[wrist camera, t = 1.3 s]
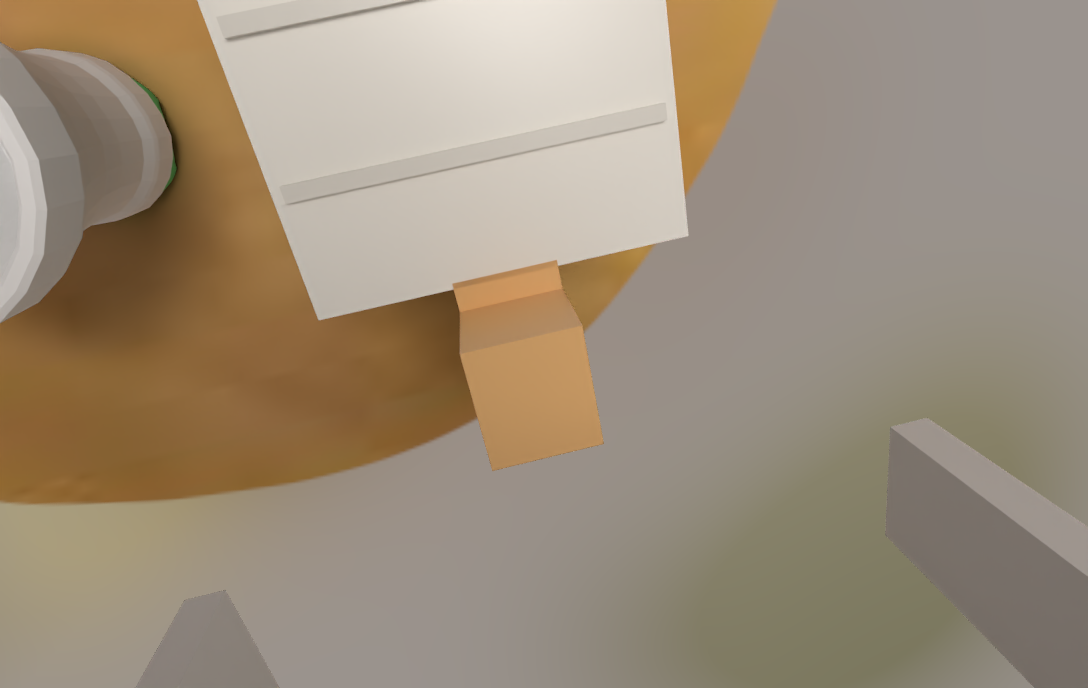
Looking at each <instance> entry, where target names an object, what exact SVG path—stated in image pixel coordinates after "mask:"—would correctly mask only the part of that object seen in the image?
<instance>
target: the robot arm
mask: <svg viewBox="0 0 1088 688" xmlns="http://www.w3.org/2000/svg"><path fill="white" fill-rule="evenodd" d="M885 532H886V533H885V535H886V536H887V537H888V538H889V539H890V540H891V541H892V542H893V543H894V544H895V545H896V547H897V548H899V550H900V551H901V552H902V553H903V554H904V555H905V556H906V557H907V558H908V559H909V560H910V561H911V562H912V563H913V564H914V565H915V566H916V567H917V568H918V569H919V570H920V571H921V572H922V573H923V574H924V575H925V576H926V577H927V578H928V579H929V580H930V581H931V582H932V583H933V584H934V585H935V586H936V587H937V588H938V589H939V590H940V592H941V593H942V594H943V595H944V596H945V597H946V598H947V599H948V600H949V601H950V602H951V603H952V604H953V605H954V606H955V607H956V608H957V609H958V610H959V611H960V612H961V613H962V614H963V615H964V616H965V617H966V618H967V619H968V620H969V621H970V622H971V623H972V624H973V625H974V626H975V627H976V628H977V629H978V630H979V631H980V632H981V633H982V635H983V636H984V637H985V638H986V639H987V640H988V641H989V642H990V643H991V644H992V645H993V646H994V647H995V648H997V650H998V651H999V652H1000V653H1001V654H1002V655H1003V656H1004V657H1005V658H1006V659H1007V660H1008V661H1009V662H1010V663H1011V664H1012V665H1013V666H1014V667H1015V668H1016V669H1017V670H1018V671H1019V672H1020V673H1021V674H1022V675H1023V676H1024V677H1025V678H1026V680H1027V681H1028V682H1029V683H1030V684H1031V685H1032V686H1033V687H1034V688H1088V527H1087V526H1086V525H1084V524H1083V523H1081V522H1080V521H1078V520H1077V519H1075V518H1074V517H1073V516H1071V515H1070V514H1068V513H1067V512H1065V511H1063V510H1062V509H1061V508H1059V507H1058V506H1056V505H1055V504H1053V503H1052V502H1050V501H1049V500H1047V499H1046V498H1044V497H1043V496H1042V495H1040V494H1039V493H1037V492H1036V491H1034V490H1033V489H1031V488H1029V487H1028V486H1027V485H1025V484H1024V483H1022V482H1021V481H1019V480H1018V479H1016V478H1015V477H1014V476H1012V475H1011V474H1009V473H1008V472H1006V471H1005V470H1003V469H1002V468H1000V467H999V466H997V465H996V464H994V463H993V462H991V461H990V460H988V459H987V458H985V457H984V456H983V455H981V454H980V453H978V452H977V451H975V450H973V449H972V448H971V447H969V446H968V445H966V444H965V443H963V442H962V441H960V440H959V439H957V438H956V437H955V436H953V435H952V434H950V433H948V432H947V431H946V430H944V429H943V428H941V427H940V426H938V425H937V424H935V423H934V422H932V421H931V420H930V419H928V418H925V419H921V420H916V421H912V422H908V423H904V424H900V425H896V426H892V427H890V444H889V467H888V488H887V510H886V531H885ZM136 688H279V686H278V684H277V682H276V681H275V679H274V677H273V676H272V673H271V671H270V670H269V668H268V666H267V664H266V663H265V661H264V659H263V657H262V655H261V653H260V652H259V650H258V648H257V646H256V644H255V643H254V641H253V639H252V637H251V635H250V634H249V632H248V630H247V628H246V626H245V625H244V623H243V621H242V619H241V617H240V615H239V614H238V612H237V610H236V608H235V606H234V605H233V603H232V601H231V599H230V598H229V596H228V594H227V592H226V590H223V591H219V592H216V593H211V594H207V595H203V596H199V597H195V598H191V599H187V600H184V602H183V604H182V606H181V607H180V609H179V611H178V613H177V615H176V616H175V618H174V620H173V622H172V623H171V625H170V627H169V629H168V631H167V633H166V634H165V636H164V638H163V640H162V641H161V643H160V645H159V647H158V648H157V650H156V652H155V654H154V656H153V658H152V659H151V661H150V663H149V665H148V667H147V668H146V670H145V672H144V674H143V676H142V677H141V679H140V681H139V683H138V684H137V686H136Z"/></svg>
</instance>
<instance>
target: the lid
mask: <svg viewBox="0 0 1088 688" xmlns="http://www.w3.org/2000/svg"><path fill="white" fill-rule="evenodd" d="M197 1H198V4H199V6H200V9H201V12H202V14H203V17H204V20H205V22H206V25H207V28H208V30H209V33H210V36H211V38H212V41H213V43H214V46H215V49H216V51H217V54H218V57H219V59H220V62H221V65H222V67H223V70H224V72H225V75H226V78H227V80H228V83H229V86H230V88H231V91H232V94H233V96H234V99H235V101H236V104H237V107H238V109H239V112H240V115H241V117H242V120H243V123H244V125H245V128H246V130H247V133H248V136H249V138H250V141H251V144H252V146H253V149H254V152H255V154H256V157H257V159H258V162H259V165H260V167H261V170H262V173H263V175H264V178H265V181H266V183H267V186H268V188H269V191H270V194H271V196H272V199H273V202H274V204H275V207H276V210H277V212H278V215H279V217H280V220H281V223H282V225H283V228H284V231H285V233H286V236H287V239H288V241H289V244H290V246H291V249H292V252H293V254H294V257H295V260H296V262H297V265H298V268H299V270H300V273H301V275H302V278H303V281H304V283H305V286H306V289H307V291H308V294H309V297H310V299H311V302H312V304H313V307H314V310H315V312H316V315H317V318H318V320H323V319H327V318H331V317H336V316H340V315H345V314H349V313H353V312H358V311H362V310H366V309H371V308H375V307H380V306H384V305H388V304H393V303H397V302H401V301H406V300H410V299H415V298H419V297H423V296H428V295H432V294H436V293H441V292H445V291H450V290H454V293H455V296H456V300H457V304H458V307H459V311H460V357H461V361H462V364H463V368H464V371H465V375H466V378H467V382H468V385H469V389H470V393H471V396H472V400H473V403H474V407H475V410H476V414H477V418H478V421H479V424H480V428H481V432H482V435H483V439H484V442H485V446H486V449H487V453H488V456H489V460H490V464H491V467H492V471H494V470H499V469H503V468H507V467H511V466H515V465H519V464H523V463H527V462H531V461H536V460H539V459H543V458H548V457H552V456H556V455H560V454H564V453H569V452H573V451H577V450H581V449H585V448H589V447H593V446H597V445H602V444H604V442H603V436H602V431H601V425H600V421H599V414H598V409H597V403H596V398H595V392H594V387H593V381H592V376H591V371H590V365H589V360H588V354H587V349H586V343H585V338H584V332H583V327H582V324H581V322H580V320H579V318H578V317H577V315H576V313H575V311H574V309H573V307H572V305H571V304H570V302H569V300H568V298H567V296H566V294H565V292H564V290H563V289H562V284H561V278H560V273H559V268H558V266H559V265H563V264H568V263H572V262H576V261H581V260H585V259H589V258H594V257H598V256H603V255H607V254H611V253H616V252H620V251H624V250H629V249H633V248H638V247H642V246H646V245H651V244H655V243H659V242H663V241H668V240H673V239H677V238H681V237H686V236H688V227H687V216H686V205H685V195H684V185H683V174H682V164H681V154H680V143H679V133H678V122H677V112H676V102H675V91H674V81H673V71H672V60H671V50H670V40H669V29H668V19H667V8H666V0H197Z"/></svg>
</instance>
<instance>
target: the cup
mask: <svg viewBox="0 0 1088 688" xmlns="http://www.w3.org/2000/svg"><path fill="white" fill-rule="evenodd" d="M176 170H177V167H176V165H175V158H174V153H173V149H172V139H171V134H170V132H169V130H168V128H167V125H166V123H165V120H164V116H163V113H162V110H161V108H160V105H159V100H158V99H157V98H156V97H155V95H154V94H153V93H152V92H151V91H150V90H148V89H147V88H146V87H145V86H143V85H142V84H140V83H139V82H137V81H136V80H134V79H133V78H131V77H130V76H128V75H127V74H125V73H124V72H122V71H121V70H119V69H118V68H116V67H115V66H113V65H112V64H110V63H109V62H107V61H105V60H102V59H99V58H96V57H92V56H89V55H86V54H83V53H76V52H67V51H58V50H49V49H40V48H36V49H30V50H24V51H16V50H14V49H12V48H10V47H8V46H6V45H4V44H2V43H1V42H0V323H1V322H3V321H5V320H7V319H9V318H11V317H13V316H14V315H16V314H18V313H20V312H22V311H24V310H26V309H28V308H29V307H31V306H33V305H35V304H37V303H39V302H40V301H41V300H42V299H43V298H44V296H45V295H46V294H47V293H48V292H49V291H50V290H51V289H52V288H53V286H54V285H55V284H56V283H57V282H58V281H59V280H60V279H61V278H62V276H63V275H64V274H65V272H66V271H67V269H68V267H69V265H70V262H71V260H72V258H73V256H74V254H75V252H76V250H77V248H78V246H79V244H80V241H81V239H82V237H83V231H84V230H85V229H87V228H88V227H90V226H91V225H98V224H103V223H108V222H114V221H118V220H121V219H124V218H126V217H129V216H132V215H134V214H136V213H138V212H141V211H143V210H145V209H147V208H149V207H150V206H151V205H152V204H153V203H154V202H155V201H156V200H157V199H158V198H159V196H160V195H161V194H162V192H163V191H164V190H165V189H166V188H167V187H168V185H169V184H170V183H171V182H172V180H173V178H174V176H175V173H176Z"/></svg>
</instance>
